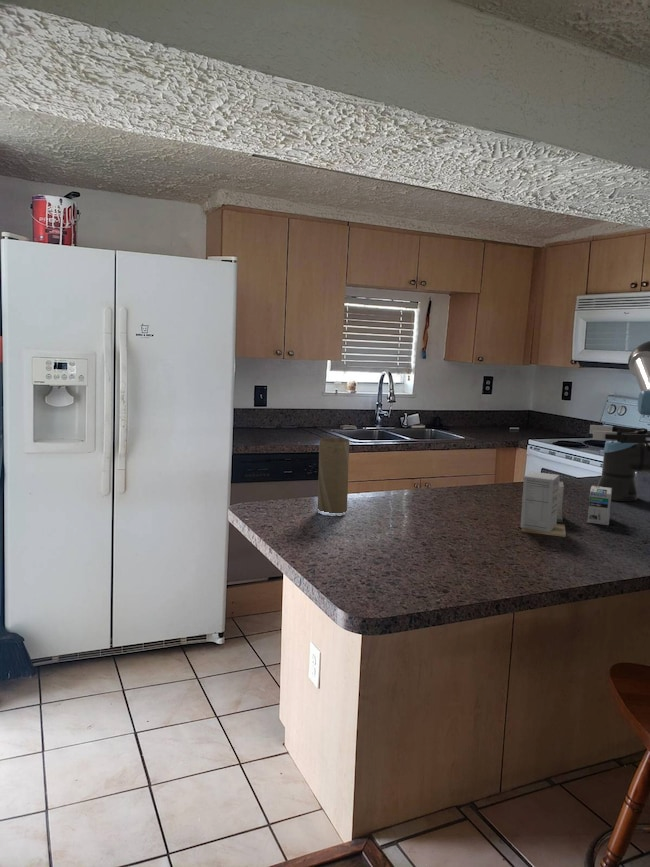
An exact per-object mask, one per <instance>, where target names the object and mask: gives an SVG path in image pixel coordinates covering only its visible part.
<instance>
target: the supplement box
mask: <svg viewBox="0 0 650 867" xmlns="http://www.w3.org/2000/svg"><path fill="white" fill-rule="evenodd" d="M560 478H561V475H560V474H553V473H548V472H547V473H546V472H538V471H531V472H530V471H529V473H527V474H526V475H524V476H523V484H522V485H523V486H522V487H523V488H522V489H523V490H522V498H521V499H522V500H521V514H520V516H521V517H520V528H521V529H522V528H528V529H534V530H540V531H546V532H550V531H551V530H552V529H553V528H554V527H555V526H556V524H558V522H557V510H558V495H559V481H560ZM560 482H561V481H560Z"/></svg>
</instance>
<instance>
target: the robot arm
mask: <svg viewBox="0 0 650 867" xmlns="http://www.w3.org/2000/svg"><path fill="white" fill-rule="evenodd" d="M627 364H628V365H627V366H628V369H629V372H630V373H631V374H632V375H633V376H634V377H635V378H636V381H637V384H638V387H639V388H640V389H639V390H640V392H639V394H638V398H637V411H638V414H640V415H642V416H650V340H649V341H646V342H643V343H641V344H640V345H638V346H637V347H635V348H634V349H633V351H632V352H631V353H630V355H629V356H628V361H627ZM589 434H592V440H593V441H603V442H604V441H605V442H604V448H603V461H602V470H601V477H600V479H599V481H598V482H597V485H596V486H599V487H607V488H612V496H611V501H615V502H635V501H637V500H638V499H639V498H638V497H639V493H638V488H637V484H636V481H635V480H636V478H635V476H636V473H650V430H648V429H647V428H643V427H642V428H638V427H631V426H629V427H628V426H623V425H622V426H621V425H616V424H615V425H600V424H599V425H597V424H590V426H589Z"/></svg>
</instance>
